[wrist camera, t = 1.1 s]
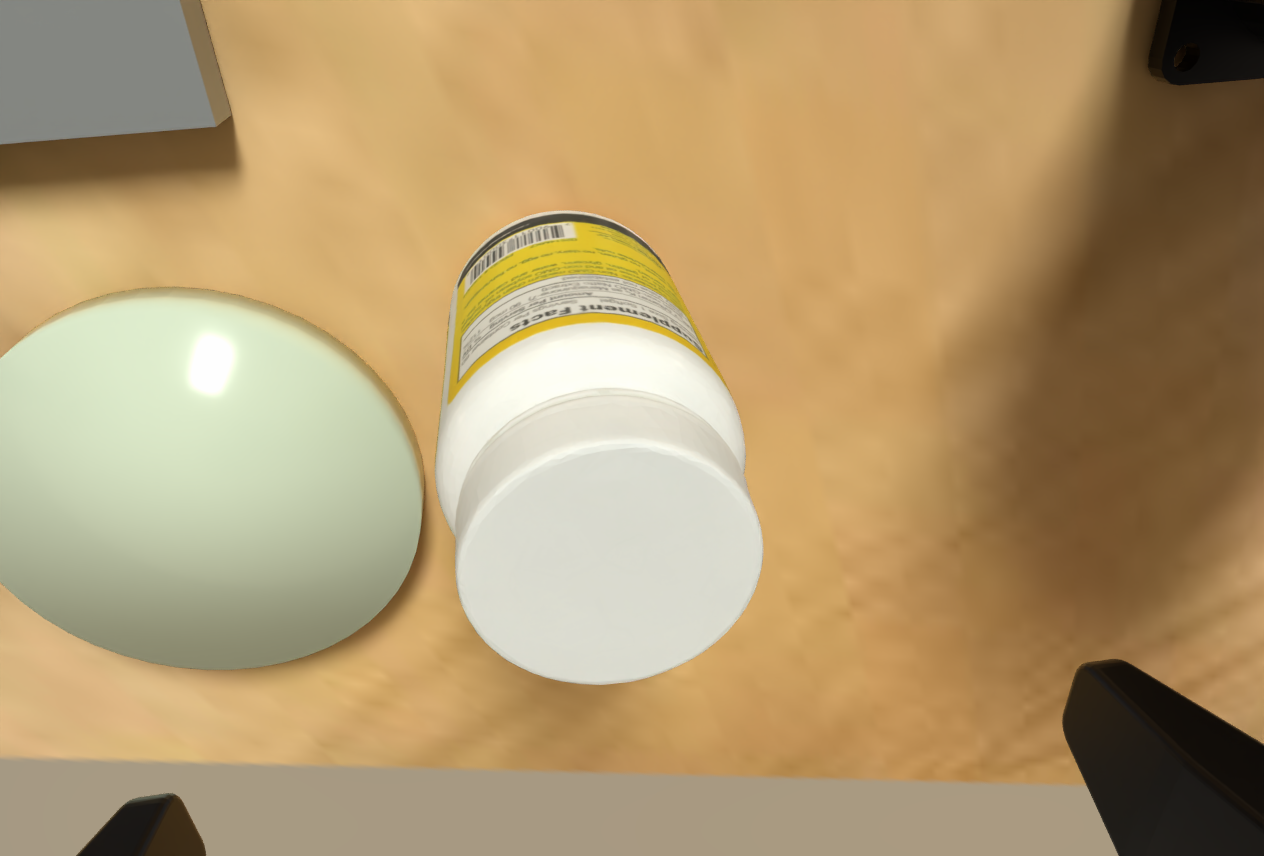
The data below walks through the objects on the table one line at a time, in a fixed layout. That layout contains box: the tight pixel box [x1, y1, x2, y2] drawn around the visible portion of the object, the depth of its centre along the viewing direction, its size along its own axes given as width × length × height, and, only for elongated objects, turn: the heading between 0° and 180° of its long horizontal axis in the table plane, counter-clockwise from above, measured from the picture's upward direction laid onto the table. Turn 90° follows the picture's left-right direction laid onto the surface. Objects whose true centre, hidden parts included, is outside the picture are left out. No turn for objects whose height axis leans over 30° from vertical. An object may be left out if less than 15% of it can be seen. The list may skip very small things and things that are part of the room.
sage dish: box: [0, 287, 425, 670], centre depth 18 cm, size 9×9×1 cm
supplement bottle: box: [435, 211, 763, 685], centre depth 15 cm, size 5×5×8 cm
